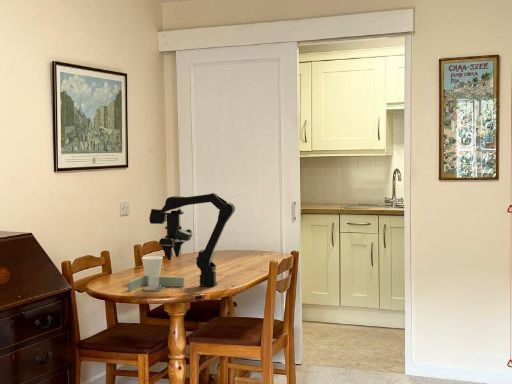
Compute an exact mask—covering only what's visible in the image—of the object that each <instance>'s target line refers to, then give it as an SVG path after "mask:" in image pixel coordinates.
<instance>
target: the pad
mask: <svg viewBox="0 0 512 384" xmlns="http://www.w3.org/2000/svg"><path fill="white" fill-rule="evenodd" d="M165 287H166V288H167V287H168V286H160V288H159V289H157V290H144V288H142V289H140V291H142V290H143V291H144V292H146V291H147V292H159V291H161V289H162V290H163V288H164V289H166V288H165Z"/></svg>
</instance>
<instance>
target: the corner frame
mask: <svg viewBox="0 0 512 384" xmlns="http://www.w3.org/2000/svg"><path fill="white" fill-rule="evenodd" d="M148 277H149V276H145V275H142V276H139V277H137V278H134V279H132V280H130V281H129V280H128V282H127V287H128V290H127V291H128V292H133V291H135V290H137V289H139V288H141V286H142V287H145V286H148ZM157 277H160V285H161V286H167V287H178V286H181V287H185V277H183V276H181V277H180V276H162V275H160V276H157Z"/></svg>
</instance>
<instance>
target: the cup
mask: <svg viewBox="0 0 512 384" xmlns="http://www.w3.org/2000/svg"><path fill="white" fill-rule="evenodd" d="M163 258H164V257H163V256H159V255H158V256H157V255H155V256H154V255H151V256H143V257H141V260H142V266H143V270H144V271H143V272H144V276H161V270H162V264H163V263H162V262H163V260H164V259H163Z"/></svg>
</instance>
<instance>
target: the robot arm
mask: <svg viewBox="0 0 512 384" xmlns="http://www.w3.org/2000/svg"><path fill="white" fill-rule="evenodd" d="M164 203H165V204H164V205H163V206H162V208H161V209H158V208H157V209H156V208H152V209H150V213H149V219H148V220H149V223H150V224H151V225H163V224H165V222H166V226H165V227H164V229H165V230H166V235H165V236H164V237H161V238H160V239H159V242H158V243H159V246H160V247H161V248H162V250H163V252H164V254H165V256H166V258H167V260H168V261H171V260H172V254H173V252H174V255H175V257H176V258H179V255H180V252H181V249H182V245H183V244H184V243H186V242H189V241H191V238H192V237H193V232H192V230H191V229H190V228H188V229H186V230H183V229H182V225H180V215H184V211H183V210H182V209H181V208H182V207H187V206H190V205H197V204H198V205H199V204H206V203H211V204H212V205H213V206H214V207H215V208H216V209H217V210H219V211H218V216H217V222H216V223H215V226H214V228H213V230H212V232H211V235H210V237H209V239H208V241H207V244H206V246H205V248H204V249H201V250H199V251H198V254H197V255H198V256H197V257H196V258H195V260H196V262H195V264H196V267H197V268H198V269H199V270H200V274H199V287H211V288H212V287H215V286H217V285H218V282H217V271H216V268H217V265H216V264H215V263H214V262H213V257H214V252H215V249H216V246H217V244H218V242H219V240H220V239H221V236H222V233H223V231H224V229H225V227H226V225H227V222H228V221H230V219H231V217H232V216H233V214H234V213H235V211H236V206H235V205H234V203H232V202H228V201H227V200H225V199H223V198H222V197H220V196H219V195H218V194H216V193H215V192H211V193H209V194H208V193H207V194H201V195H200V194H199V195H192V196H179V195H177V196H175V195H174V196H169V197H167V198H166V199H165V201H164ZM178 208H179V209H178ZM176 209H178V210H176Z"/></svg>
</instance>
